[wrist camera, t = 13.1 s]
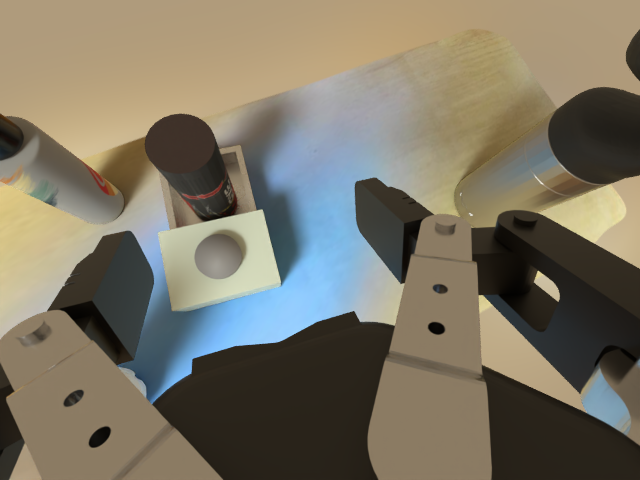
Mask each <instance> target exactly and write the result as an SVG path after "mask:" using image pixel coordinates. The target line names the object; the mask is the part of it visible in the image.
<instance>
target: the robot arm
mask: <svg viewBox="0 0 640 480" xmlns="http://www.w3.org/2000/svg"><path fill="white" fill-rule="evenodd" d="M626 62H627V64H628V66H629V68H630V69H631V71H632V73H633V74H634V75H635V76H636V77H637V79H638V80H639V81H640V30H639V31H638V32H637V33H636V34H635V36H634V37H633V39H632V40H631V42H630V44H629V46H628V48H627V51H626ZM639 175H640V96H639V95H636V94H633V93H630V92H627V91H624V90H620V89H615V88H609V87H600V88H593V89H589V90H587V91H584V92H582V93H580V94H578V95H576V96H575V97H573V98H572V99H571V100H569V101H568V102H566V103H565V104H564V105H562V106H561V107H560V108H558V109H557V110H556V111H554V112H553V113H552V114H550V115H549V116H548V117H546V118H545V119H544V120H542V121H541V122H539V123H538V124H537V125H535V126H534V127H533V128H532V129H530V130H529V131H527V132H526V133H525V134H523V135H522V136H521V137H519V138H518V139H517V140H515V141H514V142H513V143H511V144H510V145H509V146H507V147H506V148H504V149H503V150H502V151H500V152H499V153H498V154H496V155H495V156H494V157H492V158H491V159H490V160H488V161H487V162H486V163H484V164H483V165H481V166H480V167H479V168H477V169H476V170H475V171H473V172H472V173H471V174H469V175H468V176H466V177H465V178H464V179H463V180H461V181H460V183H459V184H458V185H457V188H456V190H455V204H456V208H457V210H458V212H459V214H460V215H461V217H462V218H460V217H457V216H454V215H448V214H437V215H434V214H433V213H431V212H430V211H429V210H427V209H426V208H425V207H423V206H422V205H421V204H419V203H418V202H416V201H415V200H414V199H413V198H410V196H409V195H407V194H406V193H405V192H403V191H402V190H399V189H396V188H393V187H387V186H386V185H385V184H384V183H382V182H381V181H380V180H378V179H377V178H370V179H366V180H361V181H357V182H356V183H355V204H356V221H357V225H358V228H359V231H360V233H361V234H362V235H363V237H364V238H365V239H366V240H367V242H368V243H369V244H370V245H371V247H372V248H373V249H374V251H375V252H376V253H377V254H378V256H379V257H380V258H381V259H382V261H383V262H384V263H385V264H386V266H387V267H388V268H389V270H390V271H391V272H392V273H393V275H394V276H395V277H396V278H397V280H398V281H399V282H400V283H401V284H403V283H405V285H404V289H403V294H402V298H401V302H400V307H399V311H398V315H397V320H396V324H395V326H393V325H389V324H385V323H378V322H360V321H359V319H358V317H357V316H356V314H355V312H354V311H353V312H349V313H346V314H342V315H339V316H336V317H332V318H329V319H326V320H322V321H319V322H316V323H314V324H313V325H311V326H309V327H307V328H305V329H303V330H301V331H300V332H298V333H296V334H294V335H292V336H290V337H288V338H287V339H285V340H283V341H281V342H277V343H268V344H256V345H244V346H234V347H231V348H228V349H224V350H221V351H218V352H214V353H211V354H207V355H204V356H201V357H197V358H194V359H193V360H192V373H191V374H190V375H188V376H186V377H184V378H183V379H181V380H180V381H178V382H177V383H175V384H174V385H173V386H171V387H170V388H169V389H167V390H166V391H165V392H164V393H163V394H162V395H161V396H160V397H158V398H157V399H156V400H155V401H154V403H153V404H151V403H150V402H149V401H148V400H147V398H146V397H145V396H144V395H143V394H142V393H141V392H140V391H139V390H138V389H137V388H136V386H135V385H134V384H133V383H132V382H131V381H130V380H129V379H128V378H127V377H126V376H125V374H124V373H123V372H122V371H121V370H120V369H119V368H118V367H117V366H116V365H118V364H121V363H125V362H128V361H132V360H134V357H135V353H136V350H137V346H138V342H139V338H140V334H141V331H142V327H143V323H144V319H145V315H146V312H147V308H148V304H149V300H150V297H151V293H152V289H153V285H154V276H153V272H152V269H151V267H150V265H149V263H148V261H147V259H146V257H145V255H144V253H143V251H142V249H141V247H140V245H139V243H138V241H137V240H136V238H135V236H134V234H133V233H132V232H131V231H124V232H119V233H115V234H110V235H105V236H103V237H102V239H101V240H100V242H99V243H98V245H97V247H96V248H95V250H94V252H93V253H91V254H89V255H88V256H87V257H86V258H84V259H83V260H82V261H81V262H80V263H78V264H77V265H76V267H75V269H74V270H73V272H72V273H71V275H70V276H71V277H69V278H68V279H67V281H66V282H65V286H63V287H62V289H61V290H60V292H59V293H58V295H57V296H56V298H55V300H54V301H53V303H52V304H51V306H50V307H49V309H48V310H47V312H43V313H40V314H37V315H35V316H33V317H30V318H28V319H26V320H25V321H23V322H21V323H20V324H18V325H17V326H15V327H14V328H12V329H11V330H10V331H8V332H7V333H6V334H5V335H4V336H3V337H2V338H1V340H0V480H9V479H10V477H11V474H12V472H13V470H14V467H15V465H16V463H17V460H18V458H19V456H20V453H21V451H22V449H23V446H24V444H25V443H26V445H27V448H28V450H29V452H30V454H31V457H32V459H33V461H34V463H35V465H36V468H37V470H38V472H39V474H40V476H41V479H42V480H640V269H639V268H637V267H635V266H634V265H632V264H630V263H628V262H626V261H625V260H623V259H621V258H619V257H617V256H616V255H614V254H612V253H610V252H608V251H607V250H605V249H603V248H601V247H599V246H598V245H596V244H594V243H592V242H590V241H589V240H587V239H585V238H583V237H581V236H580V235H578V234H576V233H574V232H572V231H571V230H569V229H567V228H565V227H563V226H561V225H560V224H558V223H556V222H554V221H552V220H551V219H549V218H547V217H545V216H543V215H541V214H538V212H541V211H543V210H546V209H548V208H551V207H553V206H556V205H558V204H561V203H563V202H566V201H568V200H571V199H573V198H576V197H578V196H581V195H583V194H586V193H588V192H591V191H593V190H596V189H598V188H601V187H603V186H606V185H608V184H611V183H614V182H617V181H619V180H622V179H624V178H629V177H634V176H639ZM470 225H471V226H473V227H475V228H471V226H470ZM537 271H540V272H541V273H542V274H544V275H545V276H547V277H548V278H549V279H550V280H552V281H553V282H554V283H555V284H556V286H557V288H558V290H559V293H560V300H559V302H557V301H556V300H555V299H554V298H552V297H551V296H550V295H549V294H547V293H546V292H545V291H544V290H542V289H541V288H540V287H539V286H537V285H536V284H535V283H534V280H535V277H536V274H537ZM478 295H484V297H485V298H486V299H487V300H488V301H489V302H490V303H491V304H492V305H493V306H494V307H495V308H496V309H497V310H498V311H499V312H500V313H501V314H502V315H503V316H504V317H505V318H506V319H507V320H508V321H509V322H510V323H511V324H512V325H513V326H514V327H515V328H516V329H517V330H518V331H519V332H520V333H521V334H522V335H523V336H524V337H525V338H526V339H527V340H528V341H529V342H530V343H531V344H532V345H533V346H534V347H535V348H536V349H537V350H538V351H539V352H540V354H542V356H543V357H544V358H546V360H547V361H548V362H549V363H550V364H551V365H552V366H553V367H554V368H555V369H556V370H557V371H558V372H559V373H560V374H561V375H562V376H563V377H564V378H565V379H566V380H567V381H568V382H569V383H570V384H571V385H572V386H573V387H574V388H575V389H576V390H577V391H578V392H579V393H580V394H581V401H582V404H583V406H584V408H585V410H586V411H587V413H585V412H583V411H581V410H579V409H577V408H575V407H573V406H570V405H568V404H566V403H564V402H562V401H559V400H557V399H555V398H553V397H551V396H549V395H546V394H544V393H542V392H540V391H538V390H536V389H533V388H531V387H529V386H527V385H525V384H522V383H520V382H518V381H516V380H514V379H512V378H509V377H507V376H505V375H503V374H501V373H499V372H496V371H494V370H492V369H490V368H488V367H485V366H483V365H482V364H481V341H480V322H479V321H480V320H479V297H478Z"/></svg>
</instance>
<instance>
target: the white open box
mask: <svg viewBox="0 0 640 480" xmlns="http://www.w3.org/2000/svg"><path fill="white" fill-rule="evenodd" d="M219 150H220V153H221V156H222V158H223V161H224V164H225V166H226V169H227V172H228V175H229V177H230V180H231V183H232V185H233V188H234V191H235V194H236V197H237V207H236V210H235V212H234V213H233V214H232V216H235V215H239V214H244V213H248V212H253V211H257V210H256V206H255V202H254V198H253V194H252V190H251V186H250V182H249V178H248V174H247V169H246V165H245V161H244V157H243V153H242V149H241V145H237V146H232V147H226V148H221V149H219ZM159 175H160V180H161V185H162V191H163V196H164V201H165V206H166V212H167V217H168V222H169V228H170V230H171V229H176V228H180V227H185V226H189V225H194V224H199V223H203V222H206V221H203V220H202V219H200V218H199V217H198V216H197V215H196V214H195V213H194V212H193V211H192V209H191V208H190V207H189V206H188V205H187V203H186V202H185V201H184V200H183V199H182V198H181V196H180V195H179V194H178V193H177V192H176V190H175V189H174V188H173V187H172V186H171V185H170V183H169V182H168V181H167V180H166V179H165V177H164V176H163V175H162V174H161V173H160V171H159Z"/></svg>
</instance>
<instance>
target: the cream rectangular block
mask: <svg viewBox="0 0 640 480" xmlns="http://www.w3.org/2000/svg"><path fill="white" fill-rule="evenodd" d="M158 236H159V241H160V247H161V253H162V258H163V264H164V269H165V275H166V280H167V286H168V292H169V297H170V303H171V308H172V311H191V310H195V309H199V308H203V307H206V306H210V305H214V304H217V303H221V302H225V301H229V300H232V299H236V298H240V297H243V296H247V295H251V294H255V293H258V292H262V291H266V290H269V289H273V288H277V287H281V280H280V276H279V272H278V269H277V265H276V261H275V257H274V253H273V249H272V245H271V241H270V237H269V233H268V229H267V225H266V221H265V217H264V213H263V209H262V210H257V211H253V212H248V213H244V214H239V215H235V216H230V217H226V218H221V219H217V220H212V221H208V222H203V223H199V224H194V225H189V226H185V227H180V228H176V229H171V230H167V231H162V232H158Z"/></svg>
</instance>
